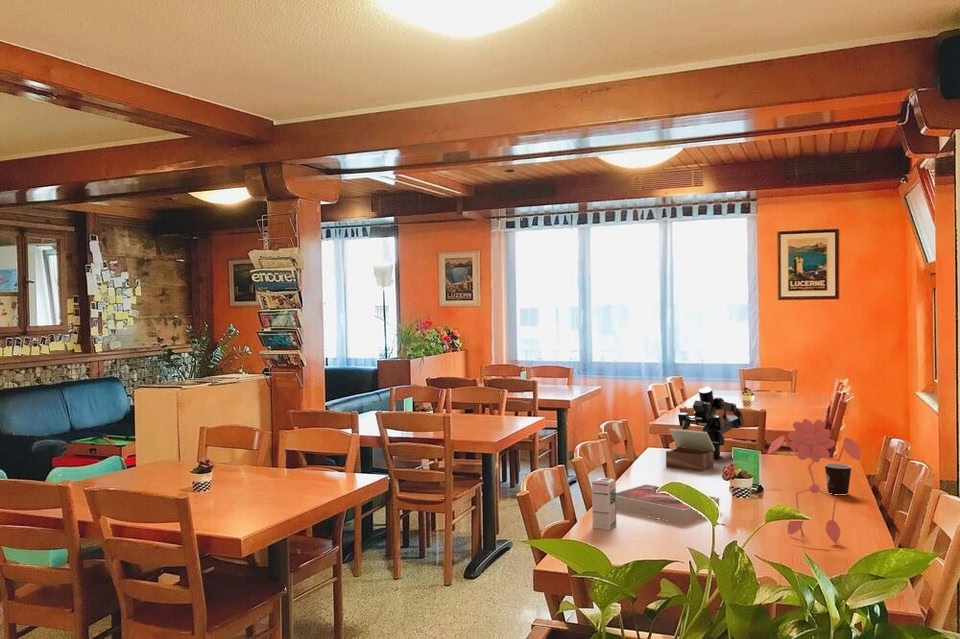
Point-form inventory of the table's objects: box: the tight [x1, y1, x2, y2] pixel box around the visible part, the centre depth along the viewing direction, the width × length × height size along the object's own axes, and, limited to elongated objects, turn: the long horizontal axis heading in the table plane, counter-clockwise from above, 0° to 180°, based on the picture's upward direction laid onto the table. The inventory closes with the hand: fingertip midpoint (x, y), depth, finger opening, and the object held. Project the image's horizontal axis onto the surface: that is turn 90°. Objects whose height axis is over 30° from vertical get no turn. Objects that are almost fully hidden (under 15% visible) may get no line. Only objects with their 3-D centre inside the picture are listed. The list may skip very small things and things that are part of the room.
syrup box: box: [591, 477, 617, 531], centre depth 230 cm, size 6×6×14 cm
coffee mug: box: [824, 463, 852, 494], centre depth 269 cm, size 12×9×10 cm
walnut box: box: [665, 447, 715, 472], centre depth 320 cm, size 12×16×6 cm
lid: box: [668, 427, 715, 451], centre depth 321 cm, size 12×17×1 cm
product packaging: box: [616, 483, 720, 525], centre depth 250 cm, size 22×28×5 cm
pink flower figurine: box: [767, 418, 861, 552], centre depth 214 cm, size 15×26×35 cm, turn 49°
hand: (692, 430), depth 322 cm, fingers open, 9 cm apart
